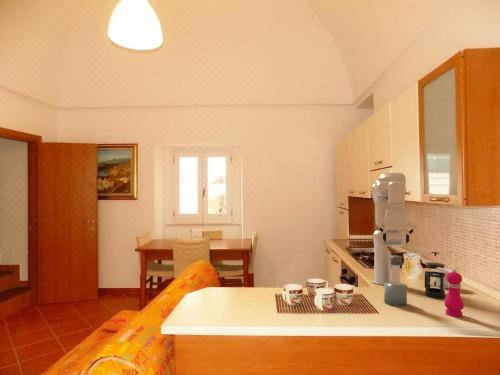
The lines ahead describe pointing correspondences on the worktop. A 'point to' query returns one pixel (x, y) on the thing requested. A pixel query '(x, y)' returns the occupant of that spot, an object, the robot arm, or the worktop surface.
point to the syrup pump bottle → (395, 289)
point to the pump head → (395, 260)
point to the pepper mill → (454, 295)
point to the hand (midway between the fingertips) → (395, 242)
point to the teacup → (443, 278)
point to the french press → (435, 292)
